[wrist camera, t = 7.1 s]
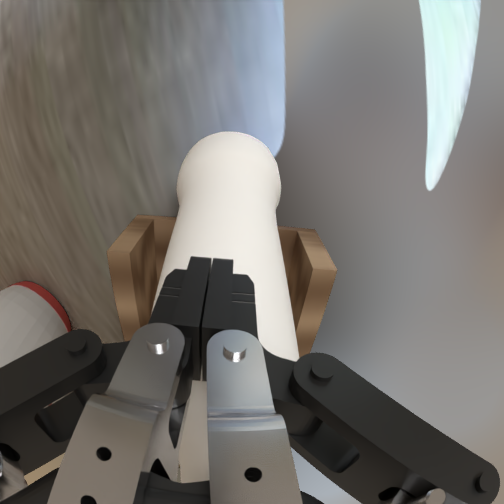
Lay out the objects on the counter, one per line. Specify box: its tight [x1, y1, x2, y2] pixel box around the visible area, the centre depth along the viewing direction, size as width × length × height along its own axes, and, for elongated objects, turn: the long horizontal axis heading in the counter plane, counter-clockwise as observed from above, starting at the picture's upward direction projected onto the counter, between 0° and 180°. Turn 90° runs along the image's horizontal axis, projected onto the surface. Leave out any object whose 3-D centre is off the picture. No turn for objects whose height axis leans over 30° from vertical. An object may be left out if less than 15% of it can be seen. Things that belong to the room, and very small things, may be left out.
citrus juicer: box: [0, 281, 71, 408], centre depth 24 cm, size 16×17×20 cm
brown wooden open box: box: [107, 215, 337, 358], centre depth 32 cm, size 32×18×8 cm, turn 174°
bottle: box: [151, 132, 299, 483], centre depth 14 cm, size 8×8×30 cm
